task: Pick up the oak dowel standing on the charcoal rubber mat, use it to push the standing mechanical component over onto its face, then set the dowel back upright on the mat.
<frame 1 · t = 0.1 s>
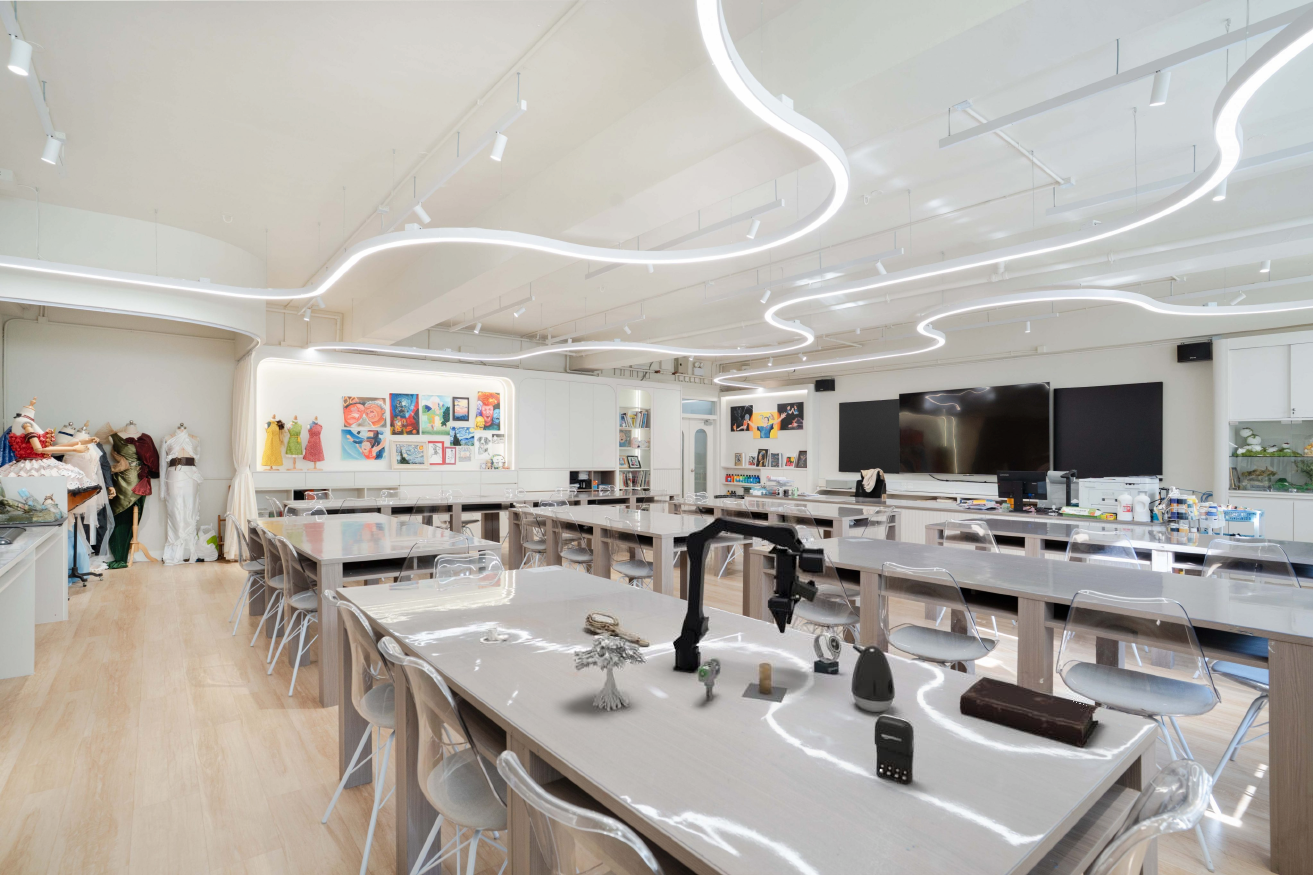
hand: (785, 628, 171), 15 cm above the table, fingers open, 9 cm apart
hand mirror: (617, 637, 211), on the table
diary: (1028, 720, 150), on the table
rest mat: (764, 696, 161), on the table
mechanical component: (709, 704, 156), on the table
pump dispenser: (872, 708, 155), on the table
tree: (609, 703, 156), on the table
watch: (826, 673, 179), on the table
dowel: (765, 692, 161), point 1 cm above the table, touching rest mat
battery charger: (893, 779, 121), on the table
teacup and saucer: (494, 644, 204), on the table
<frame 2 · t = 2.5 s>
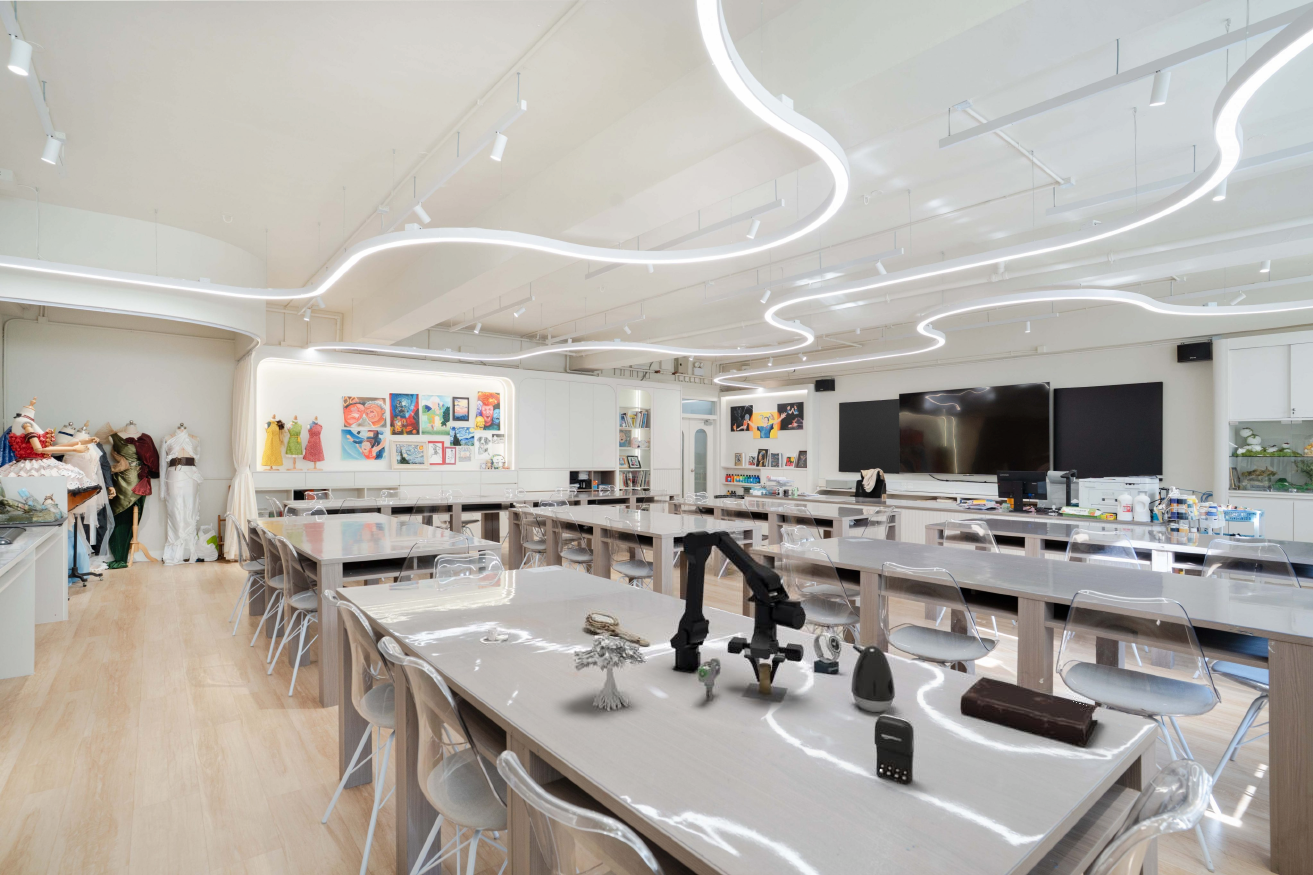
hand: (765, 682, 161), 4 cm above the table, fingers closed on dowel, 3 cm apart
dowel: (765, 692, 161), point 1 cm above the table, touching gripper, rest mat
everything else where it was.
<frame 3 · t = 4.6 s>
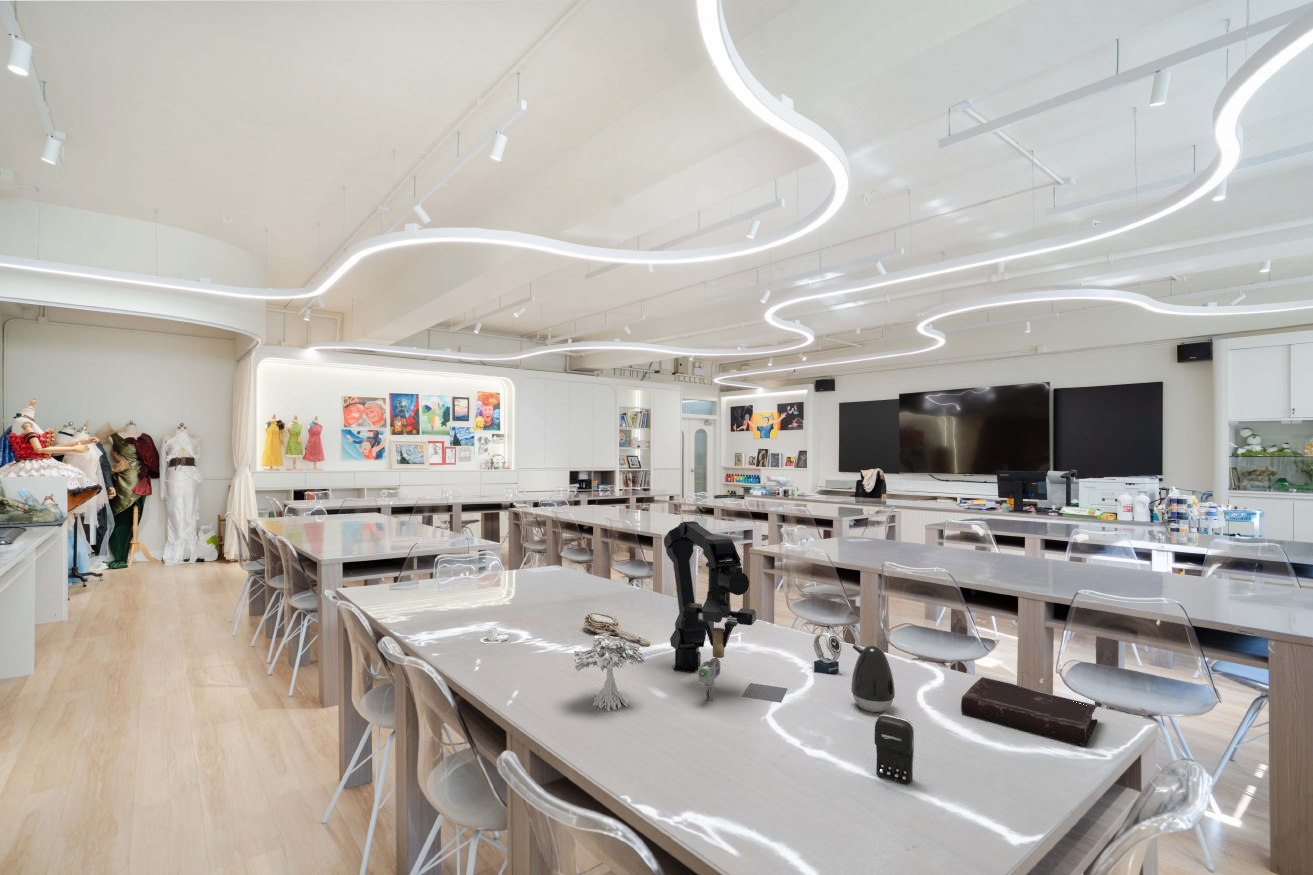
hand: (718, 646, 164), 12 cm above the table, fingers closed on dowel, 3 cm apart
dowel: (718, 655, 164), point 9 cm above the table, touching gripper
everything else where it was.
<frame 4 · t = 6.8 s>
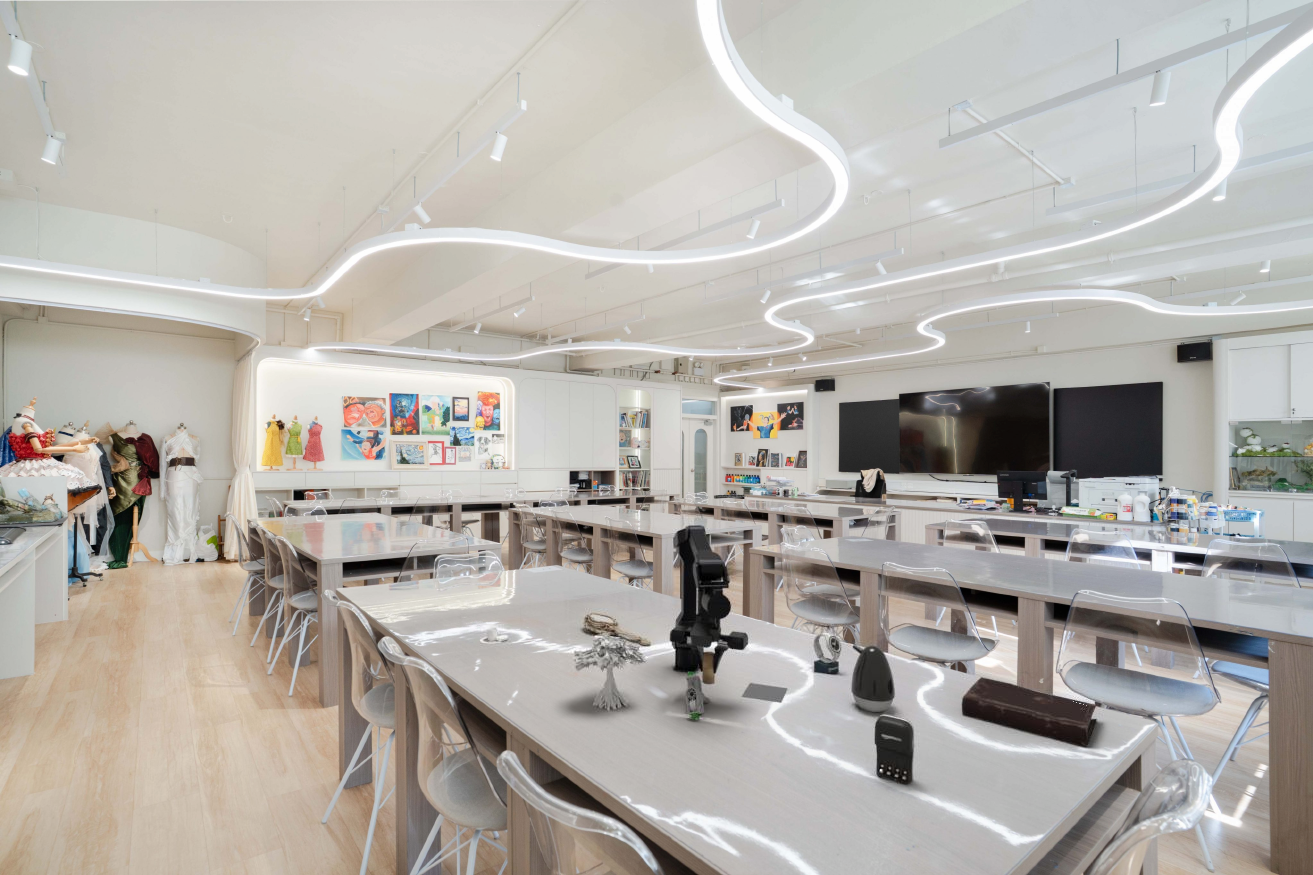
hand: (708, 672, 155), 8 cm above the table, fingers closed on dowel, 3 cm apart
dowel: (708, 681, 155), point 6 cm above the table, touching gripper
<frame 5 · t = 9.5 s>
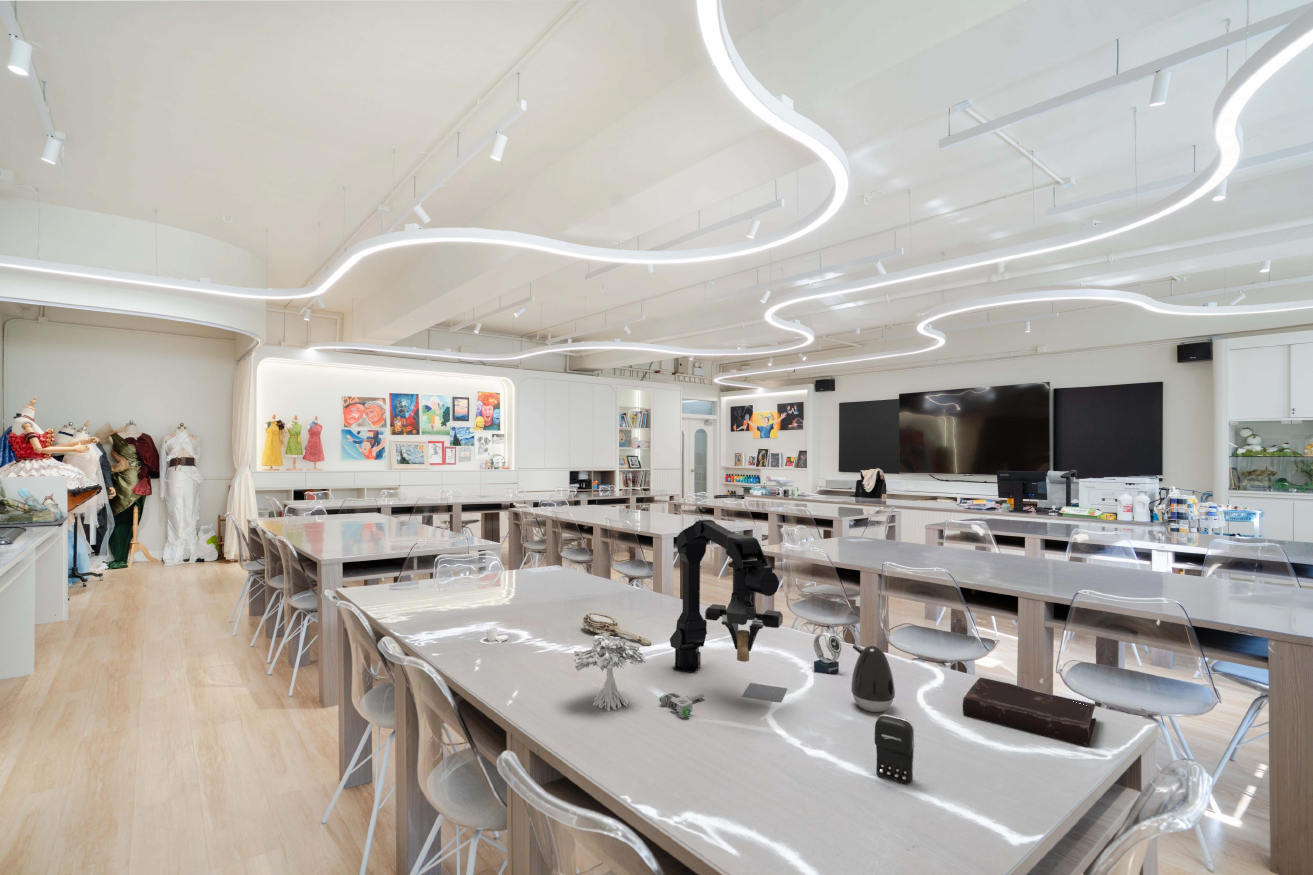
hand: (743, 649, 158), 13 cm above the table, fingers closed on dowel, 3 cm apart
mechanical component: (703, 696, 156), point 1 cm above the table
dowel: (743, 659, 158), point 10 cm above the table, touching gripper
everything else where it was.
when the fingers open (4 cm above the table, at t = 11.8 s): dowel drops 1 cm, resting on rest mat.
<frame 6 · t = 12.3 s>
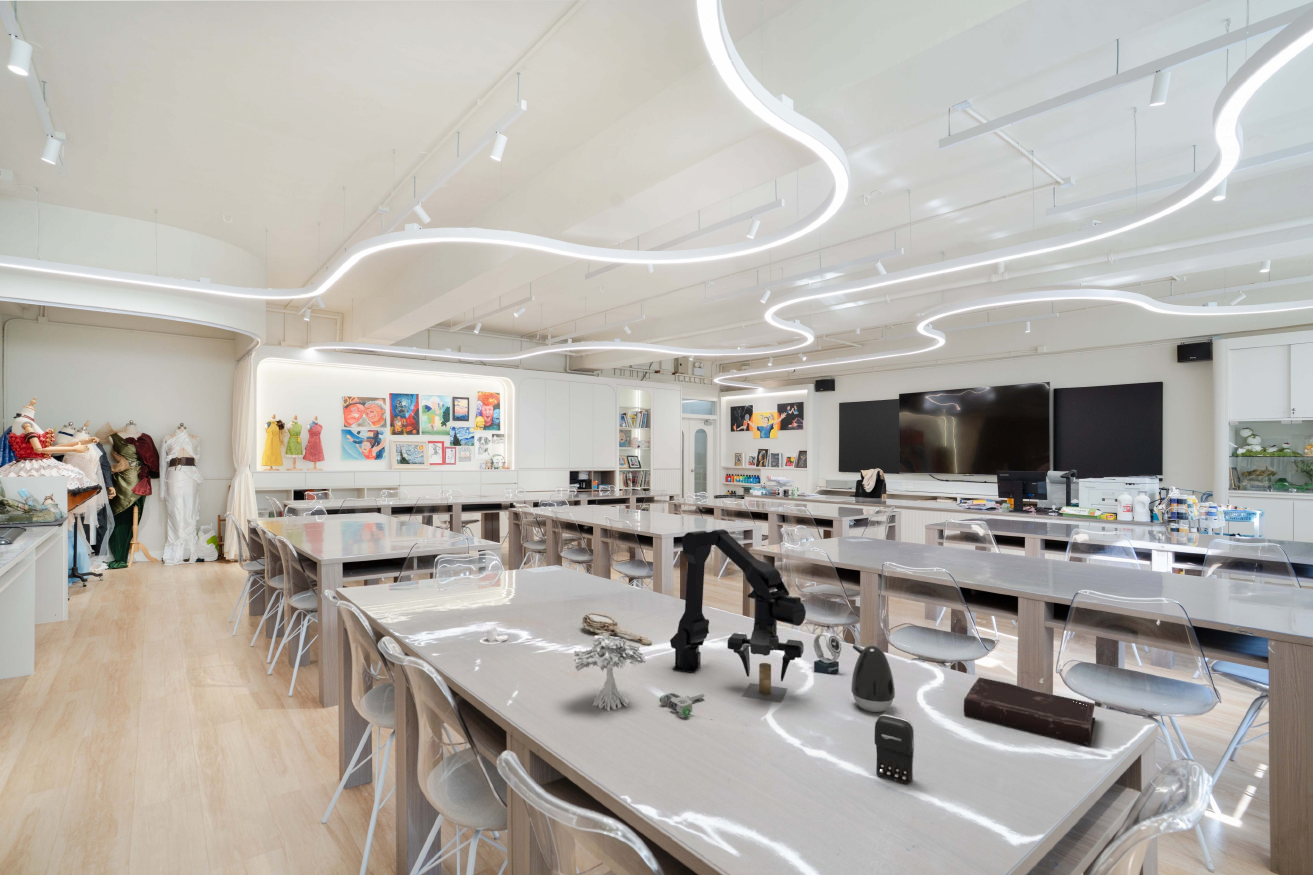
hand: (765, 678, 161), 4 cm above the table, fingers open, 8 cm apart
dowel: (764, 692, 161), point 1 cm above the table, touching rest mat
everything else where it was.
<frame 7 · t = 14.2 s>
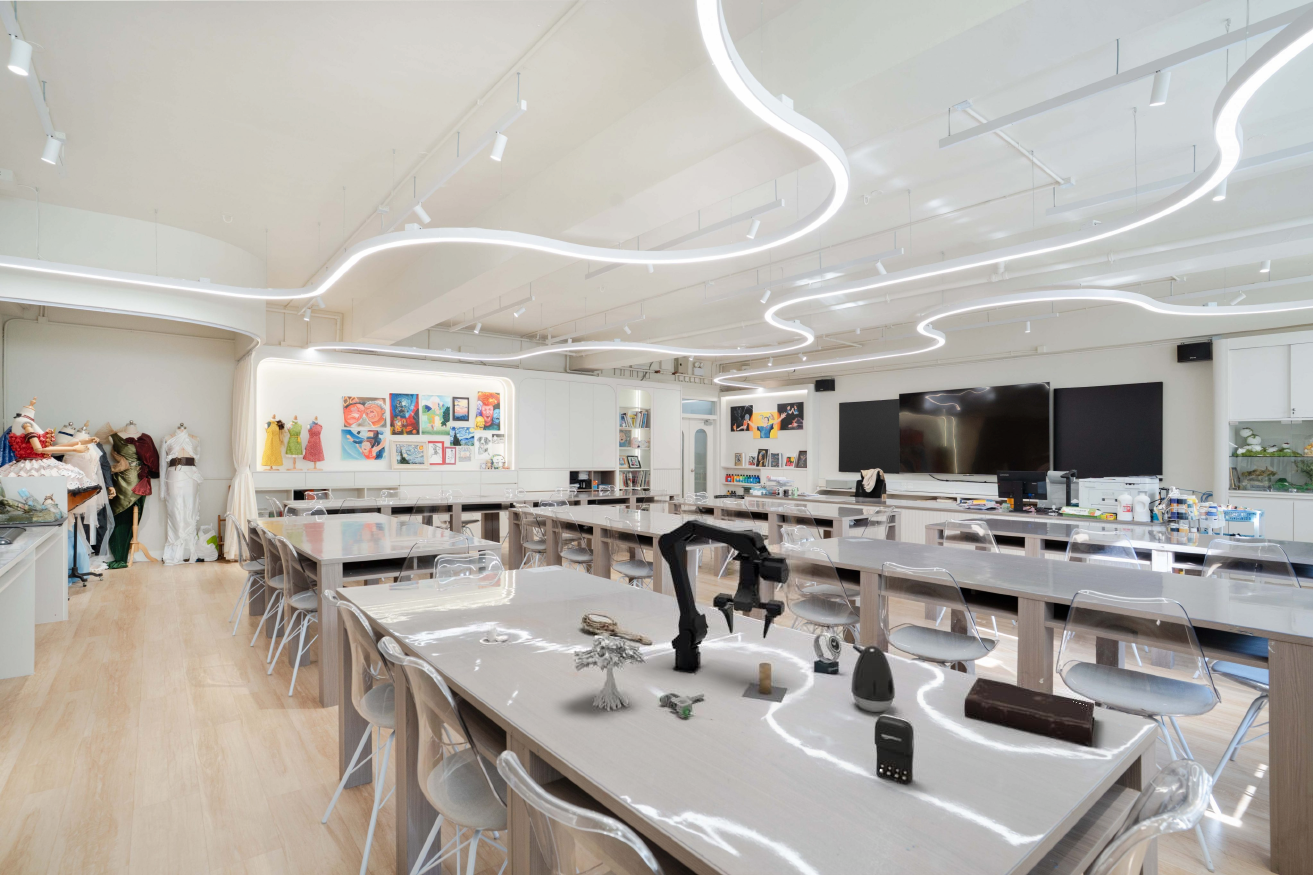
hand: (747, 635, 171), 13 cm above the table, fingers open, 9 cm apart
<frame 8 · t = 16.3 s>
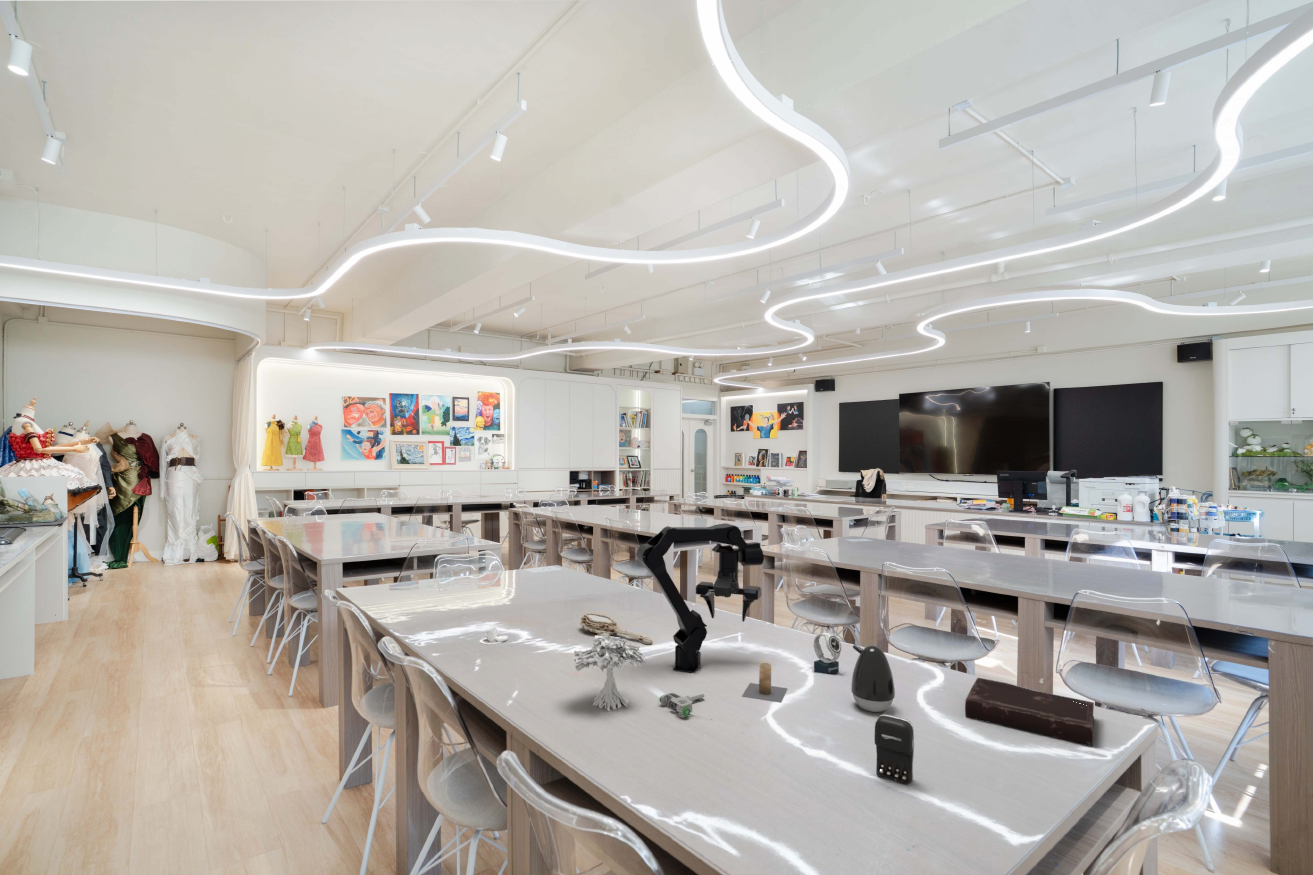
hand: (728, 619, 186), 13 cm above the table, fingers open, 9 cm apart
at the end: mechanical component tilted 90°; dowel 0.0 cm off-centre on the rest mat, point 1.0 cm above the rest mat's base; dowel tilted 1° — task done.
